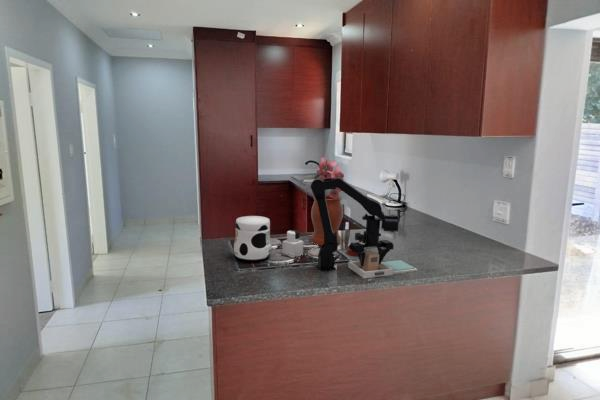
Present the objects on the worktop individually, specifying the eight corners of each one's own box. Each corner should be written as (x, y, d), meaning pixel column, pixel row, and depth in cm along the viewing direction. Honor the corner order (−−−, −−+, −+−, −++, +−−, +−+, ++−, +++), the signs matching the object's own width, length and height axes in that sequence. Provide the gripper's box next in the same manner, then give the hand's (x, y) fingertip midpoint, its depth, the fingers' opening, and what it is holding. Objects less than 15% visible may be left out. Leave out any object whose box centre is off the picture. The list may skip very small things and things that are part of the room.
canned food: (352, 259, 204) (357, 240, 206) (368, 262, 197) (373, 242, 199) (339, 253, 197) (344, 233, 199) (355, 256, 189) (361, 235, 192)
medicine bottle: (291, 252, 198) (292, 228, 195) (303, 255, 193) (304, 230, 191) (282, 255, 192) (282, 230, 190) (293, 258, 188) (294, 233, 186)
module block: (368, 273, 172) (369, 255, 170) (362, 269, 176) (363, 251, 175) (378, 272, 173) (379, 254, 172) (372, 268, 178) (373, 251, 177)
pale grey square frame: (364, 279, 165) (365, 273, 165) (348, 267, 179) (348, 261, 178) (394, 275, 170) (394, 269, 170) (375, 264, 184) (375, 258, 183)
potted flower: (323, 233, 233) (326, 155, 225) (355, 244, 213) (360, 158, 205) (297, 238, 221) (299, 155, 213) (328, 250, 202) (332, 160, 193)
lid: (391, 274, 172) (392, 271, 172) (376, 264, 183) (377, 262, 183) (417, 271, 177) (417, 268, 176) (401, 262, 188) (401, 259, 187)
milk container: (229, 253, 192) (229, 216, 189) (264, 250, 199) (265, 214, 196) (239, 265, 177) (239, 225, 173) (276, 261, 183) (277, 222, 180)
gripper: (381, 224, 182) (379, 257, 185) (344, 226, 176) (342, 261, 179) (395, 230, 172) (392, 265, 175) (356, 233, 166) (354, 269, 168)
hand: (370, 265), depth 175 cm, fingers open, 8 cm apart
